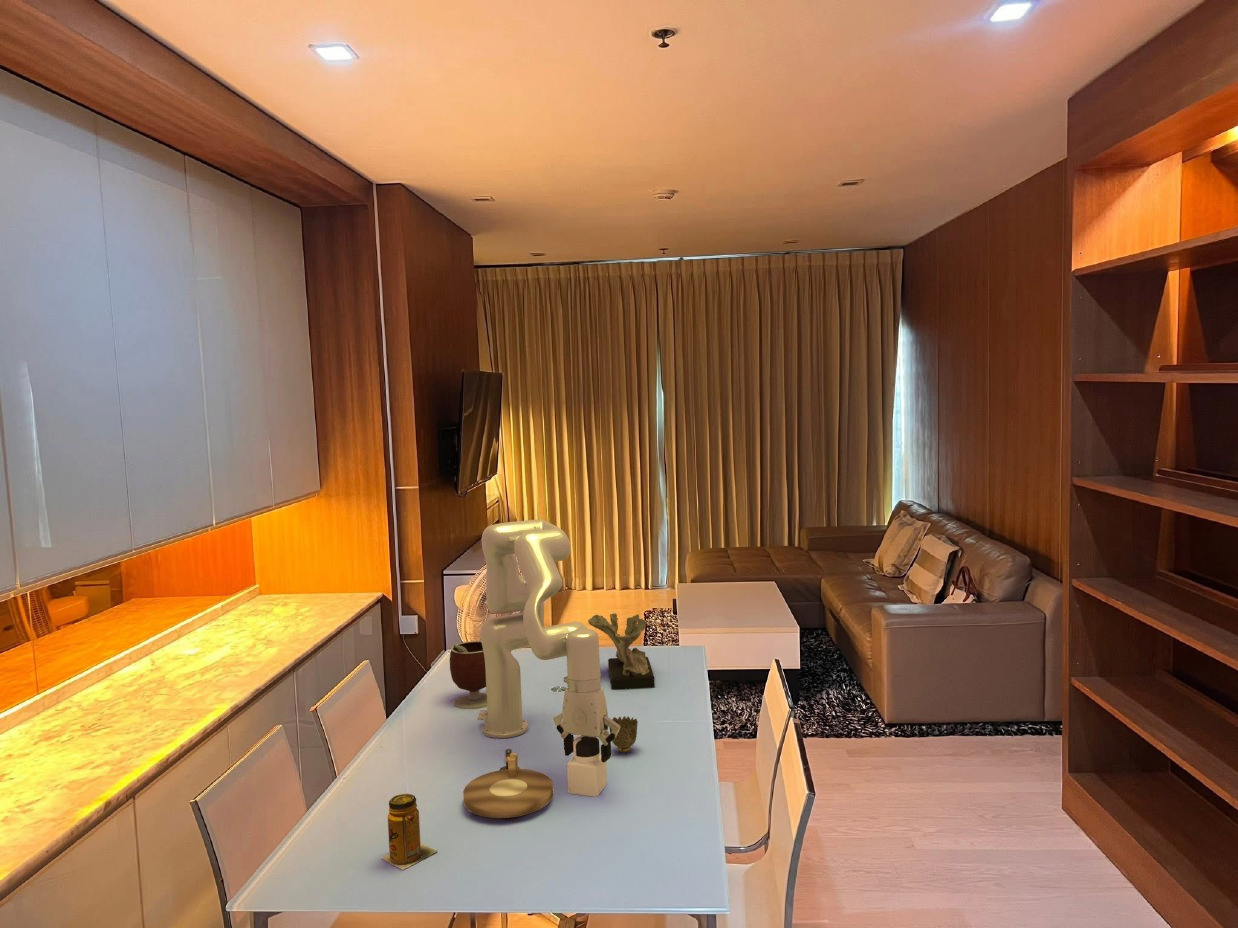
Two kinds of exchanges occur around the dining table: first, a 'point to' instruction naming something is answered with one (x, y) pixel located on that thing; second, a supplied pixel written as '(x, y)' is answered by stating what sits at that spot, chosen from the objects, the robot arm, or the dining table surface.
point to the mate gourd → (469, 674)
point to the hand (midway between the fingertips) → (587, 756)
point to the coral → (626, 654)
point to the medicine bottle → (586, 768)
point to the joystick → (507, 754)
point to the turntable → (508, 792)
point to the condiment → (405, 833)
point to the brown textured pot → (625, 734)
